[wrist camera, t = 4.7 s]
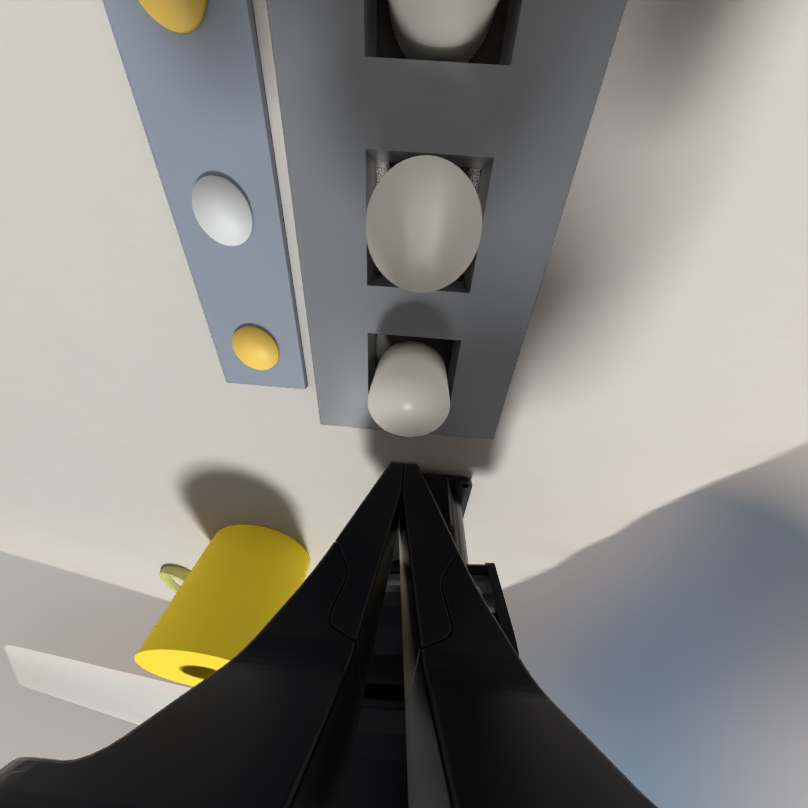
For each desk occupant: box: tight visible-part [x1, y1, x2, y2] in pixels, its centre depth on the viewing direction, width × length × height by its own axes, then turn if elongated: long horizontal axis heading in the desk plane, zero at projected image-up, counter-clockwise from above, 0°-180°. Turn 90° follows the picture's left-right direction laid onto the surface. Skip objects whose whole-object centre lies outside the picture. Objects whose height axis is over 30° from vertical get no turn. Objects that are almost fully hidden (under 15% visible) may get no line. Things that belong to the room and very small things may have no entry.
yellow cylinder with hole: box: [134, 524, 310, 686], centre depth 26 cm, size 10×10×9 cm
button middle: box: [365, 155, 482, 292], centre depth 10 cm, size 4×4×3 cm
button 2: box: [368, 341, 450, 437], centre depth 14 cm, size 4×4×3 cm
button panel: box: [266, 0, 627, 439], centre depth 12 cm, size 20×10×2 cm, turn 176°
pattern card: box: [102, 0, 308, 389], centre depth 13 cm, size 18×5×1 cm, turn 176°
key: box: [159, 566, 191, 593], centre depth 33 cm, size 7×12×2 cm, turn 107°
